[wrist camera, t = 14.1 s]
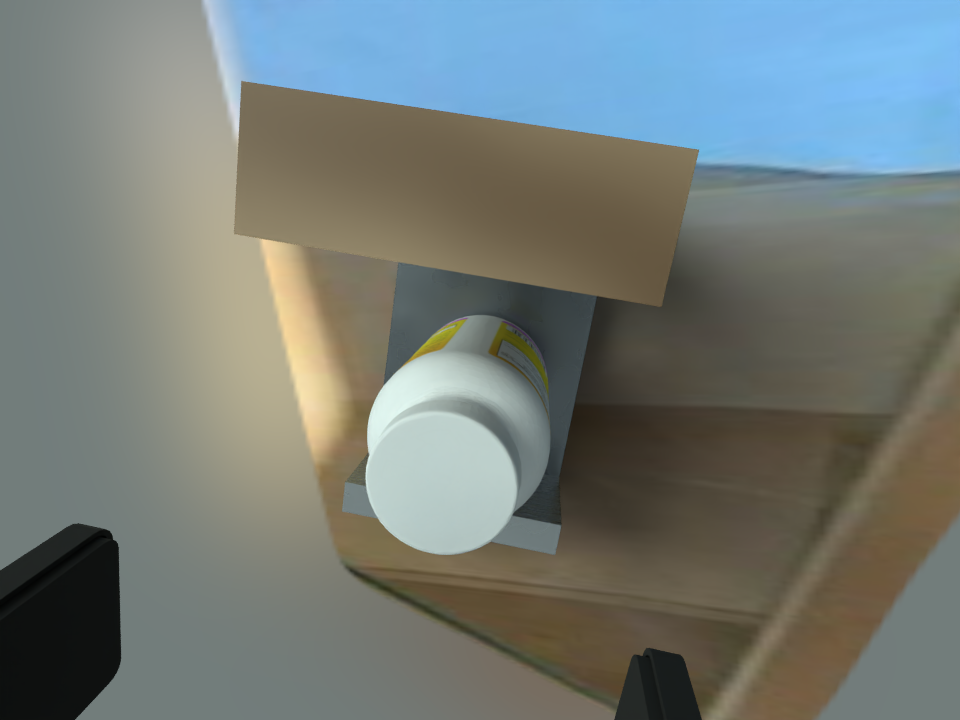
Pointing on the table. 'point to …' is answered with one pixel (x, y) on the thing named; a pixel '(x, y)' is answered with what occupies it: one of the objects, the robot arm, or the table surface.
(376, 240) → the brown wooden block
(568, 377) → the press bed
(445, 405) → the supplement bottle
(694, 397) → the table surface
